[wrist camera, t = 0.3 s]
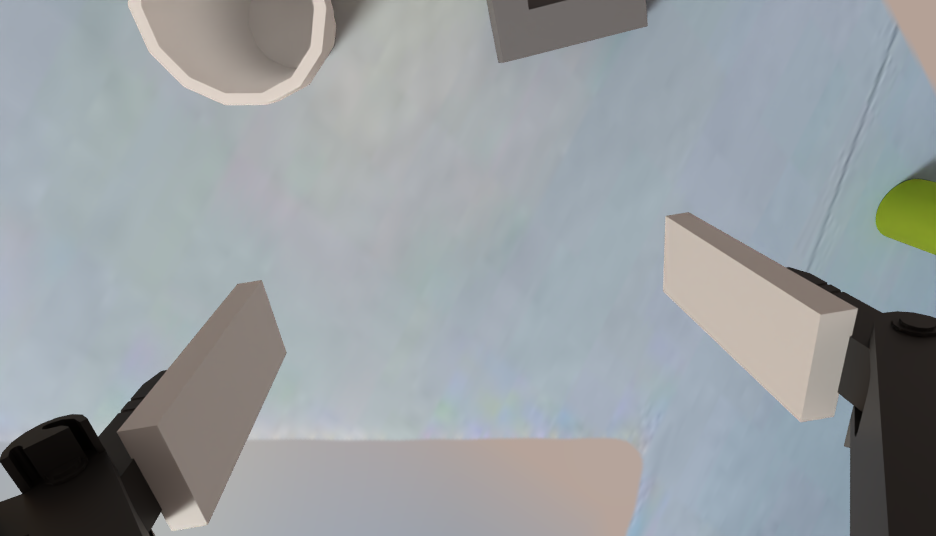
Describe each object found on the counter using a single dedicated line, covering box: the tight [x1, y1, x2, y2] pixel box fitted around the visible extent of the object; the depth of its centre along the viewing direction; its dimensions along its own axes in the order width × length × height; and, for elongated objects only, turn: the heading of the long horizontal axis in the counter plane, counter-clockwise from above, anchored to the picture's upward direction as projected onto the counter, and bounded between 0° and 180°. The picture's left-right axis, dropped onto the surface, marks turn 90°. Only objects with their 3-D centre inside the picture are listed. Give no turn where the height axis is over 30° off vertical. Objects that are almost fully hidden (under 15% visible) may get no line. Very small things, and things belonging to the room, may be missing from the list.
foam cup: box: [128, 0, 336, 105], centre depth 30 cm, size 10×9×13 cm
